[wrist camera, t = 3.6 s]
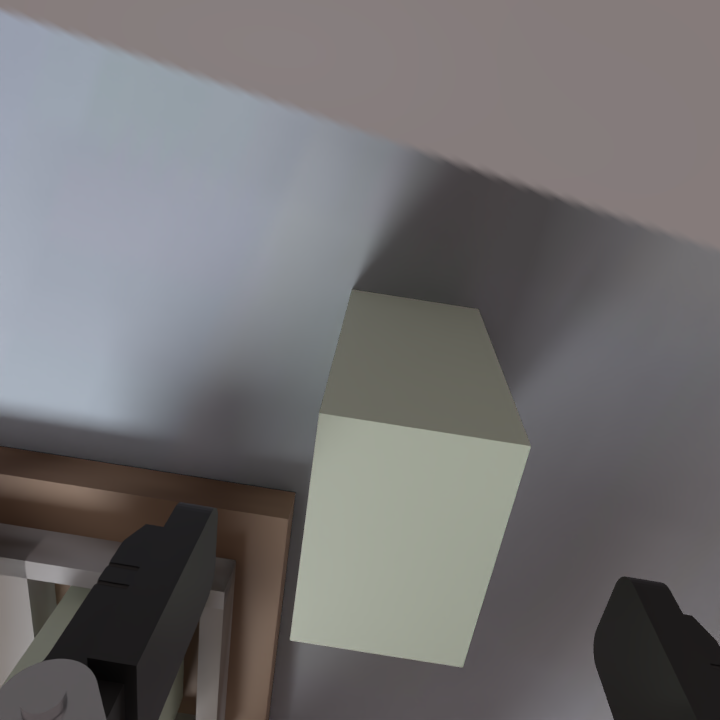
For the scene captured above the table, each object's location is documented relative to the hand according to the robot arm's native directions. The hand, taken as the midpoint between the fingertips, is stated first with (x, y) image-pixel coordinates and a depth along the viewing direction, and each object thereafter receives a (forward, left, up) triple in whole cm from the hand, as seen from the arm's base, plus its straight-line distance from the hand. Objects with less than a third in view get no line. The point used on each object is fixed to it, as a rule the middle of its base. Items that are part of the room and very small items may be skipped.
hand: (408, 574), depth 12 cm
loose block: (0, 0, -9) cm, 9 cm away
